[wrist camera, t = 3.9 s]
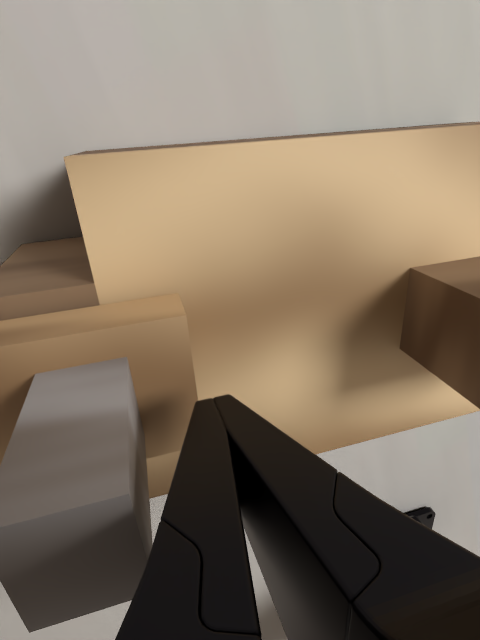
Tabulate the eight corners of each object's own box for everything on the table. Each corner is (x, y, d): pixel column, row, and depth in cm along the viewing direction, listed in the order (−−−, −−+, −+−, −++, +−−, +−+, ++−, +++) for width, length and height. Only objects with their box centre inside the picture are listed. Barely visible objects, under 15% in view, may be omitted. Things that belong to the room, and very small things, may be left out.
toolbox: (424, 338, 22) (519, 400, 17) (75, 412, 18) (55, 523, 13) (460, 122, 17) (608, 114, 12) (-5, 158, 13) (-90, 169, 8)
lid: (499, 387, 18) (623, 468, 13) (145, 477, 14) (155, 625, 10) (575, 116, 13) (808, 104, 8) (69, 155, 9) (21, 167, 5)
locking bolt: (195, 411, 12) (243, 591, 7) (-57, 468, 11) (-208, 742, 6) (178, 292, 10) (226, 426, 5) (-127, 340, 9) (-427, 580, 4)
